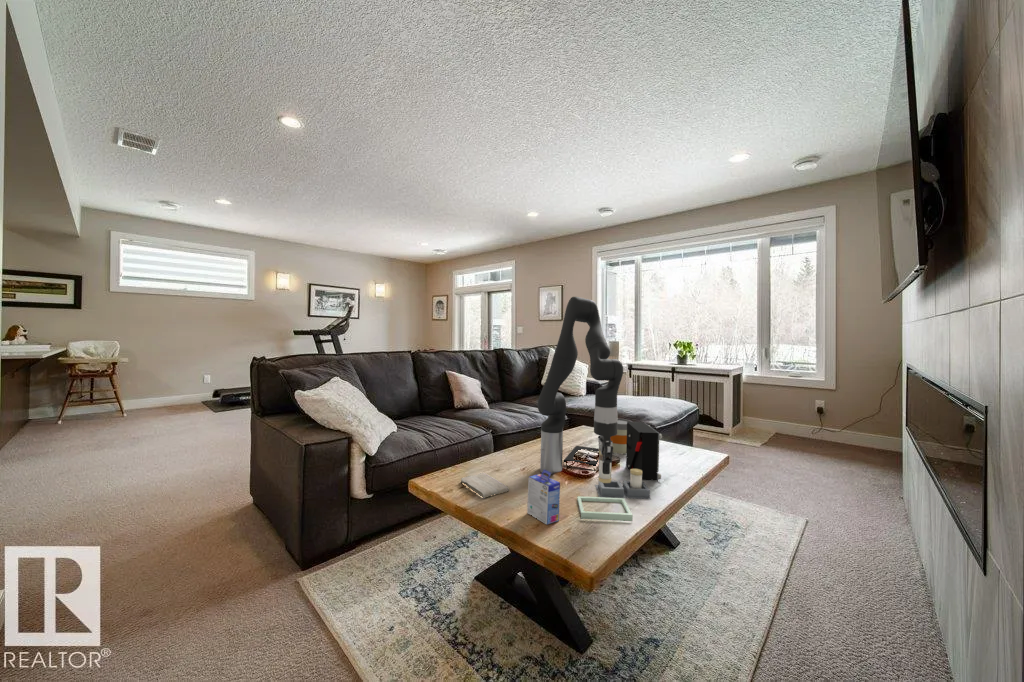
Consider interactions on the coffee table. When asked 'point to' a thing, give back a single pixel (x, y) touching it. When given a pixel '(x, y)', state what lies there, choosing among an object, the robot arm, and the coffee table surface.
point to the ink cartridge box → (543, 498)
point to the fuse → (602, 477)
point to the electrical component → (643, 450)
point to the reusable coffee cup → (620, 437)
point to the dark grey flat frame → (570, 458)
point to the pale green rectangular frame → (604, 515)
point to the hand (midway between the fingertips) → (604, 470)
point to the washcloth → (484, 484)
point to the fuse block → (625, 487)
